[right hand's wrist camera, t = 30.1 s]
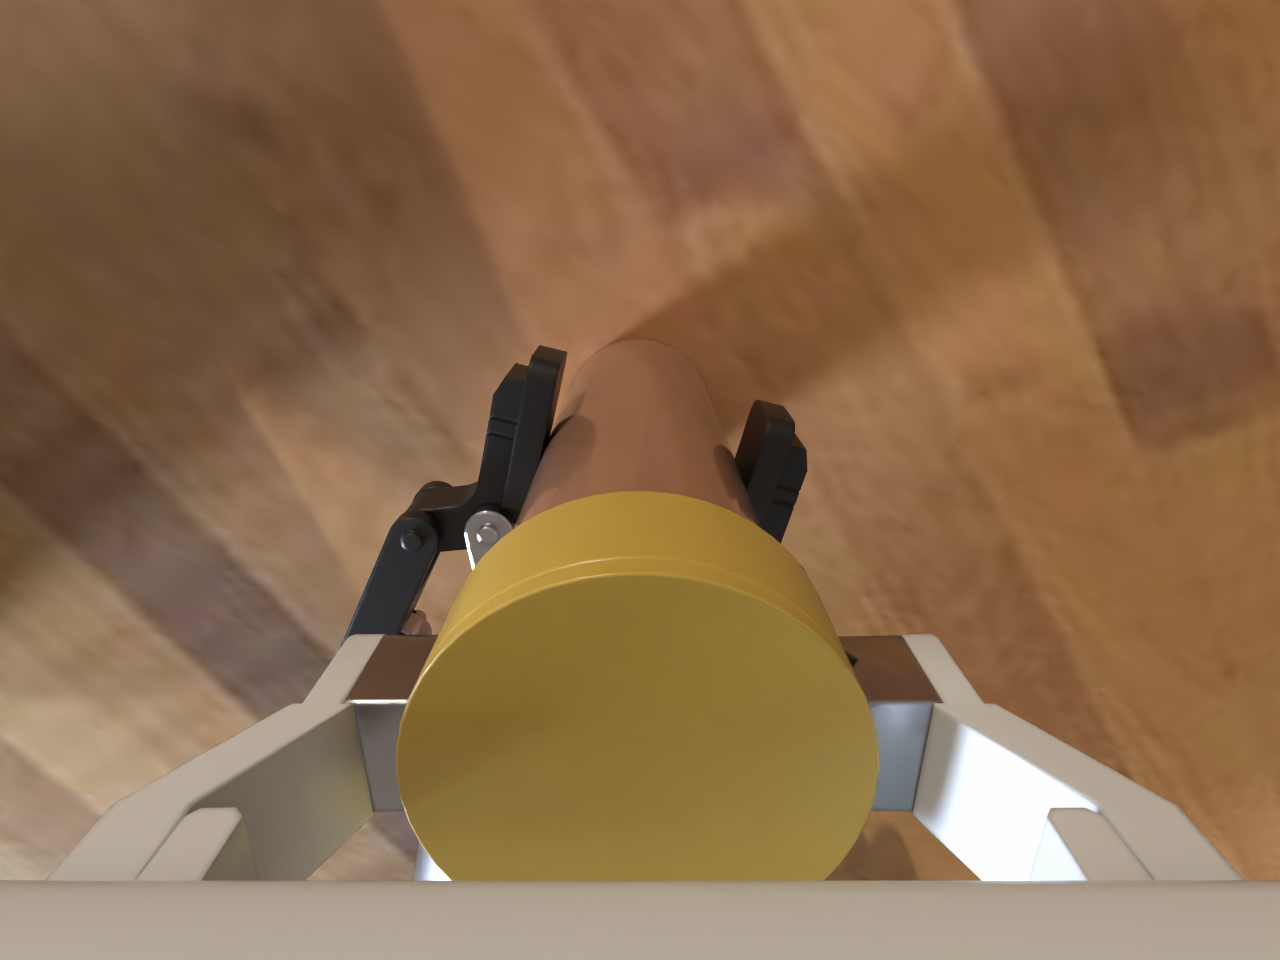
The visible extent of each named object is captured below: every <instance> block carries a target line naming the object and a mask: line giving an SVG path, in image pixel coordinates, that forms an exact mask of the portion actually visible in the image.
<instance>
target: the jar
mask: <svg viewBox="0 0 1280 960" xmlns="http://www.w3.org/2000/svg"><path fill="white" fill-rule="evenodd" d="M621 491H652V492H661V493H670V494H678V495H682V496H687V497H691V498H695V499H699V500H704V501H706V502H709V503H712V504H714V505H717V506H720V507H722V508H725V509H728V510H730V511H732V512H734V513H736V514H738V515H740V516H741V517H743V518H745V519H747V520H749V521H751V522H753V523H754V524H756V525H757V526H758V527H760V528H761V526H760V523H759V521H758V518H757V515H756V513H755V510H754V508H753V505H752V503H751V500H750V497H749V495H748V492H747V490H746V487H745V485H744V482H743V479H742V477H741V474H740V472H739V469H738V467H737V464H736V462H735V459H734V456H733V454H732V451H731V449H730V446H729V444H728V441H727V438H726V436H725V433H724V431H723V428H722V426H721V423H720V420H719V418H718V415H717V413H716V410H715V408H714V405H713V402H712V400H711V397H710V395H709V392H708V390H707V387H706V385H705V382H704V380H703V378H702V376H701V375H700V373H699V371H698V370H697V368H696V367H695V366H694V365H693V364H692V362H691V361H690V360H689V359H687V358H686V357H685V356H684V355H683V354H681V353H680V352H678V351H677V350H676V349H674V348H672V347H670V346H668V345H665V344H662V343H659V342H656V341H651V340H642V339H634V340H625V341H620V342H616V343H613V344H610V345H608V346H606V347H604V348H602V349H600V350H599V351H597V352H596V353H594V354H593V355H592V356H590V357H589V358H588V359H587V360H586V361H585V362H584V363H583V364H582V366H581V367H580V368H579V369H578V371H577V373H576V374H575V376H574V378H573V380H572V382H571V384H570V386H569V389H568V391H567V394H566V397H565V399H564V402H563V404H562V407H561V409H560V412H559V415H558V417H557V420H556V422H555V425H554V427H553V430H552V432H551V435H550V438H549V440H548V443H547V445H546V448H545V450H544V453H543V455H542V458H541V461H540V463H539V466H538V468H537V471H536V473H535V476H534V479H533V481H532V484H531V486H530V489H529V491H528V494H527V496H526V499H525V502H524V504H523V507H522V509H521V512H520V514H519V517H518V519H517V522H516V525H515V527H514V529H515V528H516V527H517V526H519V525H520V524H522V523H524V522H526V521H527V520H529V519H531V518H533V517H534V516H536V515H538V514H540V513H542V512H544V511H546V510H549V509H551V508H554V507H556V506H559V505H561V504H564V503H566V502H570V501H573V500H577V499H581V498H585V497H589V496H593V495H599V494H606V493H614V492H621ZM761 529H762V528H761Z"/></svg>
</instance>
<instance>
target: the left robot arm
mask: <svg viewBox="0 0 1280 960" xmlns="http://www.w3.org/2000/svg"><path fill="white" fill-rule="evenodd" d="M566 357H567V352H566V351H562V350H558V349H554V348H550V347H545V346H541V345H540V346H539V347H538V348H537V350H536V351H535V353H534V354H533V355H532V357H531V360H530V363H529V366H525V365H521V364H517V363H516V364H515V365H514V366H513V367H512V369H511V370H510V371H509V373H508V374H507V375H506V376H505V378H504V379H503V381H502V382H501V384H500V386H499V387H498V389H497V390H496V392H495V393H494V395H493V400H492V406H491V412H490V419H489V423H488V429H487V435H486V440H485V446H484V452H483V458H482V463H481V469H480V475H479V480H478V481H477V482H475V483H473V484H470V485H465V486H455V487H453V486H451V485H450V484H448V483H445V482H442V481H432V482H429V483H427V484H425V485H424V486H423V487H422V488H421V489H420V490H419V492H418V493H417V494H416V496H415V497H414V500H413V502H412V504H411V505H410V506H409V508H408V509H407V510H406V512H405V513H403V514H402V515H401V516H400V517H399V518H398V519H397V520H396V521H395V523H394V524H393V525H392V527H391V528H390V530H389V533H388V535H387V538H386V540H385V542H384V545H383V547H382V549H381V552H380V554H379V556H378V559H377V561H376V564H375V566H374V568H373V571H372V573H371V575H370V578H369V580H368V583H367V585H366V587H365V590H364V592H363V594H362V597H361V599H360V602H359V604H358V606H357V609H356V611H355V613H354V616H353V618H352V621H351V623H350V625H349V628H348V630H347V632H346V635H345V637H344V639H343V642H342V644H341V647H342V645H343V644H344V642H345V641H346V639H347V638H348V637H350V636H352V635H355V634H385V635H388V634H399V635H432V630H431V627H430V625H429V623H428V622H427V620H426V615H425V613H424V612H422V611H420V610H414V609H415V606H416V604H417V602H418V600H419V598H420V595H421V593H422V591H423V589H424V587H425V585H426V582H427V580H428V578H429V576H430V574H431V571H432V569H433V567H434V565H435V563H436V561H437V558H438V556H439V554H440V552H442V551H453V550H463V549H468V552H469V556H470V561H471V565H472V569H474V567H475V566H476V565H477V563H478V562H479V561H480V559H481V558H482V557H483V556H484V555H485V554H486V553H487V552H488V551H489V550H490V549H491V548H492V547H493V546H494V545H495V544H496V543H497V542H498V541H499V540H500V539H501V538H503V537H504V536H505V535H507V534H508V533H509V532H511V531H512V530H513V529H514V527H515V525H516V522H517V519H518V517H519V514H520V512H521V509H522V507H523V504H524V502H525V499H526V496H527V494H528V491H529V489H530V486H531V484H532V481H533V479H534V476H535V473H536V471H537V468H538V466H539V463H540V461H541V458H542V455H543V453H544V450H545V448H546V445H547V443H548V440H549V438H550V434H551V429H552V425H553V420H554V415H555V410H556V406H557V401H558V396H559V391H560V387H561V382H562V377H563V372H564V368H565V363H566ZM735 462H736V464H737V467H738V469H739V472H740V474H741V477H742V479H743V482H744V485H745V487H746V490H747V492H748V495H749V497H750V500H751V503H752V505H753V508H754V510H755V513H756V515H757V518H758V521H759V523H760V526H761V528H762V529H763V530H764V531H765V532H767V533H768V534H770V535H771V536H772V537H774V538H775V539H776V540H777V541H778V542H779V543H780V544H781V541H782V538H783V536H784V533H785V530H786V527H787V525H788V522H789V519H790V516H791V514H792V511H793V506H794V505H795V503H796V500H797V497H798V494H799V490H800V489H801V486H802V483H803V481H804V478H805V475H806V473H807V455H806V449H805V447H804V446H803V444H802V443H801V441H800V440H799V438H798V437H797V435H796V434H795V422H794V420H793V419H792V417H791V416H790V415H789V413H788V412H787V410H786V409H785V408H784V406H781V405H777V404H773V403H769V402H765V401H761V400H756V401H755V402H754V404H753V406H752V408H751V410H750V413H749V416H748V419H747V423H746V426H745V429H744V432H743V435H742V438H741V441H740V444H739V447H738V451H737V454H736V457H735ZM800 566H801V565H800ZM801 567H802V566H801ZM802 568H803V567H802ZM803 570H804V568H803ZM804 571H805V570H804ZM805 572H806V571H805ZM341 647H340V648H341ZM339 650H340V649H339ZM413 881H451V880H450V879H449V878H448V877H447V876H446V875H445V874H444V873H443V871H442V870H441V869H440V868H439V867H438V866H437V865H436V864H435V863H434V861H433V860H432V859H431V857H430V856H429V855H428V853H427V852H426V851H425V849H424V848H423V846H422V845H421V844H420V842H419V847H418V852H417V858H416V864H415V870H414V875H413Z"/></svg>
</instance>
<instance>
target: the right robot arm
mask: <svg viewBox="0 0 1280 960" xmlns="http://www.w3.org/2000/svg"><path fill="white" fill-rule="evenodd" d="M437 637H438V635H399V634H388V635H385V634H355V635H352V636H350V637H348V638H347V639H346V641H345V642H344V644H343V645H342V647H341V648H340V650H339V651H338V652H337V654H336V655H335V657H334V658H333V660H332V661H331V663H330V664H329V666H328V667H327V668H326V670H325V671H324V673H323V674H322V676H321V677H320V679H319V680H318V682H317V683H316V684H315V686H314V687H313V689H312V690H311V692H310V693H309V695H308V696H307V698H306V699H305V700H304V702H303V703H302V704H290V705H289V706H287V707H285V708H283V709H281V710H280V711H278V712H276V713H274V714H273V715H271V716H269V717H267V718H265V719H264V720H262V721H260V722H258V723H257V724H255V725H253V726H251V727H249V728H248V729H246V730H244V731H242V732H241V733H239V734H237V735H235V736H233V737H232V738H230V739H228V740H226V741H225V742H223V743H221V744H219V745H217V746H216V747H214V748H212V749H210V750H209V751H207V752H205V753H203V754H201V755H200V756H198V757H196V758H194V759H193V760H191V761H189V762H187V763H185V764H184V765H182V766H180V767H178V768H176V769H175V770H173V771H171V772H169V773H168V774H166V775H164V776H162V777H160V778H159V779H157V780H155V781H153V782H152V783H150V784H148V785H146V786H144V787H143V788H141V789H139V790H137V791H136V792H134V793H132V794H130V795H128V796H127V797H125V798H123V799H121V800H120V801H118V802H116V803H114V804H112V806H111V807H110V808H109V809H108V810H107V811H106V812H105V813H104V815H103V816H102V817H101V818H100V819H99V820H98V821H97V822H96V824H95V825H94V826H93V827H92V828H91V829H90V830H89V831H88V833H87V834H86V835H85V836H84V837H83V838H82V839H81V840H80V842H79V843H78V844H77V845H76V846H75V847H74V848H73V849H72V851H71V852H70V853H69V854H68V855H67V856H66V857H65V858H64V860H63V861H62V862H61V863H60V864H59V865H58V866H57V867H56V869H55V870H54V871H53V872H52V873H51V874H50V875H49V876H48V878H47V879H46V880H45V881H11V880H0V960H1280V880H1244V879H1243V878H1242V877H1241V876H1240V875H1239V874H1238V873H1237V872H1236V870H1235V869H1234V868H1233V867H1232V866H1231V865H1230V864H1229V863H1228V862H1227V860H1226V859H1225V858H1224V857H1223V856H1222V855H1221V854H1220V853H1219V851H1218V850H1217V849H1216V848H1215V847H1214V846H1213V845H1212V844H1211V843H1210V841H1209V840H1208V839H1207V838H1206V837H1205V836H1204V835H1203V834H1202V833H1201V831H1200V830H1199V829H1198V828H1197V827H1196V826H1195V825H1194V824H1193V823H1192V821H1191V820H1190V819H1189V818H1188V817H1187V816H1186V815H1185V814H1184V812H1183V811H1182V810H1181V809H1180V808H1179V807H1178V806H1177V805H1175V804H1174V803H1172V802H1170V801H1168V800H1166V799H1165V798H1163V797H1161V796H1159V795H1157V794H1156V793H1154V792H1152V791H1150V790H1149V789H1147V788H1145V787H1143V786H1141V785H1140V784H1138V783H1136V782H1134V781H1132V780H1131V779H1129V778H1127V777H1125V776H1123V775H1122V774H1120V773H1118V772H1116V771H1115V770H1113V769H1111V768H1109V767H1107V766H1106V765H1104V764H1102V763H1100V762H1098V761H1097V760H1095V759H1093V758H1091V757H1089V756H1088V755H1086V754H1084V753H1082V752H1081V751H1079V750H1077V749H1075V748H1073V747H1072V746H1070V745H1068V744H1066V743H1064V742H1063V741H1061V740H1059V739H1057V738H1055V737H1054V736H1052V735H1050V734H1048V733H1047V732H1045V731H1043V730H1041V729H1039V728H1038V727H1036V726H1034V725H1032V724H1030V723H1029V722H1027V721H1025V720H1023V719H1021V718H1020V717H1018V716H1016V715H1014V714H1013V713H1011V712H1009V711H1007V710H1005V709H1004V708H1002V707H1000V706H998V705H996V704H984V702H983V701H982V700H981V698H980V697H979V695H978V694H977V692H976V691H975V690H974V688H973V687H972V685H971V684H970V683H969V681H968V680H967V678H966V677H965V676H964V674H963V673H962V671H961V670H960V668H959V667H958V666H957V664H956V663H955V661H954V660H953V659H952V657H951V656H950V654H949V653H948V652H947V650H946V649H945V647H944V646H943V644H942V643H941V642H940V640H939V639H938V637H936V636H934V635H933V634H906V635H892V636H838V638H839V640H840V642H841V644H842V646H843V648H844V651H845V653H846V655H847V657H848V659H849V661H850V663H851V666H852V668H853V670H854V672H855V674H856V677H857V679H858V681H859V683H860V685H861V687H862V689H863V691H864V693H865V696H866V699H867V701H868V704H869V707H870V709H871V712H872V714H873V717H874V721H875V726H876V731H877V736H878V741H879V776H878V782H877V789H876V795H875V798H874V802H873V805H872V808H871V811H901V812H913V816H914V817H916V818H917V819H918V820H919V821H920V822H921V823H922V824H923V825H924V826H925V827H926V828H927V829H928V830H929V831H930V832H931V833H932V834H934V835H935V836H936V837H937V838H938V839H939V840H940V841H941V842H942V843H943V844H944V845H945V846H946V847H947V848H948V849H949V850H950V851H952V852H953V853H954V854H955V855H956V856H957V857H958V858H959V859H960V860H961V861H962V862H963V863H964V864H965V865H966V866H967V867H969V868H970V869H971V870H972V871H973V872H974V873H975V874H976V875H977V876H978V877H979V878H980V879H981V880H982V881H856V880H667V881H305V880H306V879H307V878H308V877H309V876H310V875H311V874H312V873H313V872H314V871H315V870H316V869H317V868H319V867H320V866H321V865H322V864H323V863H324V862H325V861H326V860H327V859H328V858H329V857H330V856H331V855H332V854H333V853H334V852H335V851H336V850H337V849H339V848H340V847H341V846H342V845H343V844H344V843H345V842H346V841H347V840H348V839H349V838H350V837H351V836H352V835H353V834H354V833H355V832H356V831H357V830H359V829H360V828H361V827H362V826H363V825H364V824H365V823H366V822H367V821H368V820H369V819H370V818H371V817H372V816H373V812H385V811H405V809H404V807H403V804H402V801H401V797H400V791H399V786H398V780H397V775H396V745H397V739H398V733H399V727H400V722H401V719H402V716H403V713H404V710H405V707H406V704H407V701H408V698H409V696H410V694H411V692H412V690H413V688H414V686H415V684H416V682H417V680H418V677H419V675H420V673H421V671H422V669H423V667H424V665H425V663H426V661H427V658H428V656H429V654H430V652H431V650H432V648H433V646H434V644H435V642H436V639H437Z"/></svg>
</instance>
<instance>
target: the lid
mask: <svg viewBox="0 0 1280 960" xmlns="http://www.w3.org/2000/svg"><path fill="white" fill-rule="evenodd" d="M396 775H397V780H398V786H399V791H400V797H401V801H402V804H403V807H404V809H405V812H406V815H407V818H408V821H409V823H410V825H411V827H412V829H413V831H414V832H415V834H416V836H417V838H418V840H419V842H420V844H421V845H422V846H423V848H424V849H425V851H426V852H427V853H428V855H429V856H430V857H431V859H432V860H433V861H434V863H435V864H436V865H437V866H438V867H439V868H440V869H441V870H442V871H443V873H444V874H445V875H446V876H447V877H448V878H449V879H450V880H451V881H667V880H826V879H827V878H828V877H829V875H830V874H831V873H832V872H833V871H834V870H835V869H836V868H837V867H838V866H839V865H840V863H841V862H842V861H843V860H844V859H845V857H846V856H847V854H848V853H849V851H850V850H851V848H852V847H853V846H854V844H855V843H856V841H857V840H858V838H859V836H860V834H861V832H862V830H863V828H864V826H865V824H866V822H867V820H868V817H869V814H870V811H871V808H872V805H873V802H874V798H875V795H876V789H877V782H878V776H879V741H878V736H877V731H876V726H875V721H874V717H873V714H872V712H871V709H870V707H869V704H868V701H867V699H866V696H865V693H864V691H863V689H862V687H861V685H860V683H859V681H858V679H857V677H856V674H855V672H854V670H853V668H852V666H851V663H850V661H849V659H848V657H847V655H846V653H845V651H844V648H843V646H842V644H841V642H840V640H839V638H838V636H837V633H836V631H835V629H834V627H833V625H832V623H831V621H830V618H829V616H828V614H827V612H826V610H825V608H824V606H823V603H822V601H821V599H820V597H819V595H818V593H817V591H816V589H815V587H814V586H813V584H812V582H811V580H810V579H809V577H808V575H807V573H806V572H805V571H804V570H803V568H802V567H801V566H800V564H799V563H798V562H797V561H796V559H795V558H794V557H793V556H792V554H791V553H790V552H789V551H787V550H786V549H785V548H784V547H783V546H782V545H781V544H780V543H779V542H778V541H777V540H776V539H775V538H774V537H772V536H771V535H770V534H768V533H767V532H765V531H764V530H763V529H761V528H760V527H758V526H757V525H756V524H754V523H753V522H751V521H749V520H747V519H745V518H743V517H741V516H740V515H738V514H736V513H734V512H732V511H730V510H728V509H725V508H722V507H720V506H717V505H714V504H712V503H709V502H706V501H704V500H699V499H695V498H691V497H687V496H682V495H678V494H670V493H661V492H652V491H621V492H614V493H606V494H599V495H593V496H589V497H585V498H581V499H577V500H573V501H570V502H566V503H564V504H561V505H559V506H556V507H554V508H551V509H549V510H546V511H544V512H542V513H540V514H538V515H536V516H534V517H533V518H531V519H529V520H527V521H526V522H524V523H522V524H520V525H519V526H517V527H516V528H515V529H513V530H512V531H511V532H509V533H508V534H507V535H505V536H504V537H503V538H501V539H500V540H499V541H498V542H497V543H496V544H495V545H494V546H493V547H492V548H491V549H490V550H489V551H488V552H487V553H486V554H485V555H484V556H483V557H482V558H481V559H480V561H479V562H478V563H477V565H476V566H475V567H474V569H473V570H472V571H471V573H470V574H469V575H468V577H467V579H466V580H465V582H464V584H463V586H462V588H461V590H460V592H459V594H458V595H457V597H456V599H455V602H454V604H453V606H452V608H451V610H450V612H449V614H448V616H447V618H446V621H445V623H444V625H443V627H442V629H441V631H440V633H439V635H438V637H437V639H436V642H435V644H434V646H433V648H432V650H431V652H430V654H429V656H428V658H427V661H426V663H425V665H424V667H423V669H422V671H421V673H420V675H419V677H418V680H417V682H416V684H415V686H414V688H413V690H412V692H411V694H410V696H409V698H408V701H407V704H406V707H405V710H404V713H403V716H402V719H401V722H400V727H399V733H398V739H397V745H396Z"/></svg>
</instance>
